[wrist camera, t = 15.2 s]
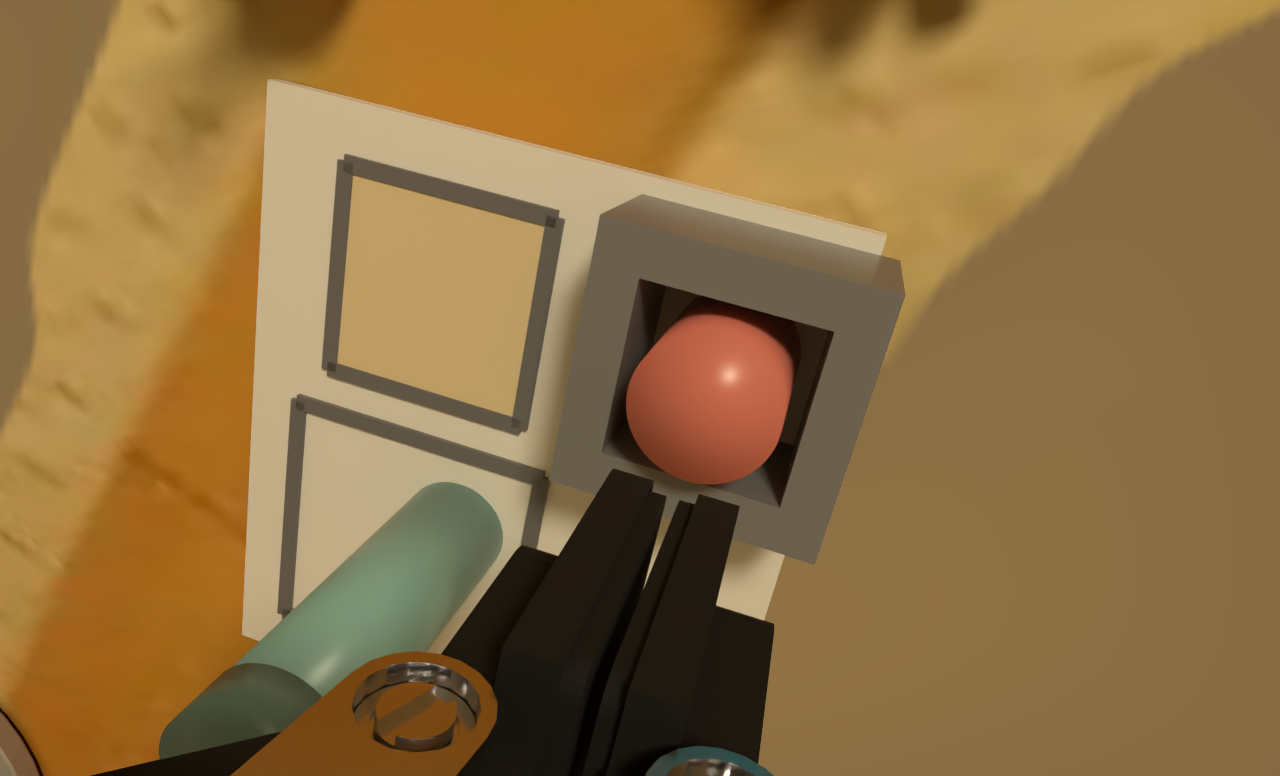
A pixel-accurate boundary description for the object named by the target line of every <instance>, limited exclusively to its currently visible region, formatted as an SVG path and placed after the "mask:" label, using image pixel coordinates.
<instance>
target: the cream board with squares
mask: <svg viewBox="0 0 1280 776" xmlns="http://www.w3.org/2000/svg"><path fill="white" fill-rule="evenodd" d="M641 194H644V195H648V196H652V197H656V198H660V199H663V200H667V201H671V202H675V203H679V204H683V205H687V206H691V207H695V208H698V209H702V210H706V211H710V212H714V213H718V214H722V215H726V216H729V217H733V218H737V219H741V220H745V221H749V222H753V223H757V224H760V225H764V226H768V227H772V228H776V229H780V230H784V231H788V232H791V233H795V234H799V235H803V236H807V237H811V238H815V239H819V240H822V241H826V242H830V243H834V244H838V245H842V246H846V247H850V248H853V249H857V250H861V251H865V252H869V253H873V254H877V255H881V253H882V250H883V247H884V244H885V241H886V238H887V234H886V233H884V232H880V231H876V230H872V229H868V228H864V227H860V226H856V225H853V224H849V223H845V222H841V221H837V220H833V219H829V218H825V217H821V216H817V215H813V214H809V213H805V212H801V211H797V210H793V209H789V208H786V207H782V206H778V205H774V204H770V203H766V202H762V201H758V200H754V199H750V198H746V197H742V196H738V195H734V194H730V193H726V192H722V191H719V190H715V189H711V188H707V187H703V186H699V185H695V184H691V183H687V182H683V181H679V180H675V179H671V178H667V177H663V176H659V175H655V174H652V173H648V172H644V171H640V170H636V169H632V168H628V167H624V166H620V165H616V164H612V163H608V162H604V161H600V160H596V159H592V158H588V157H585V156H581V155H577V154H573V153H569V152H565V151H561V150H557V149H553V148H549V147H545V146H541V145H537V144H533V143H529V142H525V141H521V140H518V139H514V138H510V137H506V136H502V135H498V134H494V133H490V132H486V131H482V130H478V129H474V128H470V127H466V126H462V125H458V124H454V123H451V122H447V121H443V120H439V119H435V118H431V117H427V116H423V115H419V114H415V113H411V112H407V111H403V110H399V109H395V108H391V107H387V106H384V105H380V104H376V103H372V102H368V101H364V100H360V99H356V98H352V97H348V96H344V95H340V94H336V93H332V92H328V91H324V90H320V89H317V88H313V87H309V86H305V85H301V84H297V83H293V82H289V81H285V80H281V79H268V81H267V103H266V124H265V146H264V168H263V190H262V211H261V233H260V255H259V276H258V298H257V320H256V342H255V363H254V385H253V407H252V429H251V450H250V472H249V494H248V515H247V537H246V559H245V581H244V602H243V624H242V635H244V636H247V637H249V638H252V639H255V640H257V641H260V640H261V639H262V638H264V637H265V636H266V635H267V634H268V633H269V632H270V631H271V630H272V629H273V628H274V627H275V626H276V625H277V624H278V623H279V622H280V621H282V620H283V619H284V618H285V617H286V616H287V615H288V614H289V613H290V612H291V611H292V610H293V609H294V608H295V607H296V606H297V605H299V604H300V603H301V602H302V601H303V600H304V599H305V598H306V597H307V596H308V595H309V594H310V593H311V592H312V591H313V590H314V589H315V588H317V587H318V586H319V585H320V584H321V583H322V582H323V581H324V580H325V579H326V578H327V577H328V576H329V575H330V574H331V573H332V572H334V571H335V570H336V569H337V568H338V567H339V566H340V565H341V564H342V563H343V562H344V561H345V560H346V559H347V558H348V557H349V556H350V555H352V554H353V553H354V552H355V551H356V550H357V549H358V548H359V547H360V546H361V545H362V544H363V543H364V542H365V541H366V540H367V539H368V538H370V537H371V536H372V535H373V534H374V533H375V532H376V531H377V530H378V529H379V528H380V527H381V526H382V525H383V524H384V523H385V522H387V521H388V520H389V519H390V518H391V517H392V516H393V515H394V514H395V513H396V512H397V511H398V510H399V509H400V508H401V507H402V506H403V505H405V504H406V503H407V502H408V501H409V500H410V499H411V498H412V497H413V496H414V495H415V494H416V493H417V492H418V491H419V490H421V489H422V488H424V487H425V486H428V485H430V484H433V483H438V482H453V483H457V484H461V485H464V486H466V487H468V488H470V489H472V490H474V491H475V492H477V493H479V494H480V495H481V496H482V497H483V498H484V499H485V500H486V501H487V502H488V503H489V504H490V505H491V506H492V507H493V509H494V511H495V512H496V514H497V516H498V518H499V520H500V523H501V526H502V531H503V544H502V549H501V552H500V554H499V556H498V558H497V559H496V561H495V562H494V563H493V565H492V566H491V567H490V569H489V570H488V571H487V573H486V574H485V575H484V576H483V578H482V579H481V580H480V582H479V583H478V584H477V586H476V587H475V588H474V590H473V591H472V592H471V594H470V595H469V596H468V598H467V599H466V600H465V602H464V603H463V604H462V606H461V607H460V608H459V609H458V611H457V612H456V613H455V615H454V616H453V617H452V619H451V620H450V621H449V623H448V624H447V625H446V627H445V628H444V629H443V631H442V632H441V633H440V635H439V636H438V637H437V639H436V640H435V641H434V642H433V644H432V645H431V646H430V648H429V649H428V650H427V652H428V653H437V654H441V653H442V652H443V651H444V649H445V648H446V646H447V645H448V644H449V642H450V641H451V639H452V638H453V637H454V635H455V634H456V633H457V631H458V630H459V628H460V627H461V626H462V624H463V623H464V621H465V620H466V619H467V617H468V616H469V615H470V613H471V612H472V610H473V609H474V608H475V606H476V605H477V603H478V602H479V601H480V599H481V598H482V596H483V595H484V594H485V592H486V591H487V590H488V588H489V587H490V585H491V584H492V583H493V581H494V580H495V578H496V577H497V576H498V574H499V573H500V572H501V570H502V569H503V567H504V566H505V565H506V563H507V562H508V560H509V559H510V558H511V556H512V555H513V554H514V552H515V551H516V550H517V549H518V548H519V547H520V546H521V545H525V546H528V547H532V548H535V549H538V550H541V551H544V552H547V553H551V554H554V555H557V556H559V554H560V552H561V551H562V549H563V547H564V546H565V544H566V543H567V541H568V539H569V538H570V536H571V535H572V533H573V531H574V530H575V528H576V526H577V525H578V523H579V522H580V520H581V518H582V517H583V515H584V513H585V512H586V510H587V509H588V507H589V505H590V504H591V502H592V501H593V499H594V497H595V496H596V495H593V494H590V493H587V492H584V491H581V490H578V489H574V488H571V487H568V486H565V485H562V484H559V483H555V482H552V481H549V476H550V471H551V466H552V461H553V456H554V450H555V445H556V440H557V435H558V430H559V424H560V419H561V414H562V409H563V404H564V399H565V393H566V388H567V383H568V378H569V373H570V367H571V362H572V357H573V352H574V347H575V342H576V336H577V331H578V326H579V321H580V316H581V310H582V305H583V300H584V295H585V290H586V285H587V279H588V274H589V269H590V264H591V259H592V253H593V248H594V243H595V238H596V233H597V228H598V222H599V217H600V214H602V213H604V212H606V211H608V210H610V209H612V208H615V207H617V206H619V205H621V204H623V203H625V202H627V201H629V200H631V199H633V198H635V197H637V196H639V195H641ZM698 296H700V295H698V294H695V293H691V292H687V291H684V290H680V289H676V288H673V287H669V286H666V289H665V294H664V298H663V302H662V307H661V311H660V316H659V320H658V324H657V329H656V333H655V337H654V342H653V346H652V348H653V347H654V345H655V344H656V343H657V342H658V340H659V339H660V338H661V337H662V336H663V334H664V333H665V332H666V331H667V330H668V328H669V327H670V326H671V325H672V324H673V322H674V321H675V320H676V319H677V318H678V316H679V315H680V314H681V313H682V312H683V310H684V309H685V308H686V307H687V306H688V305H689V304H690V303H691V302H692V301H693V300H694V299H695V298H697V297H698ZM793 322H794V324H795V326H796V328H797V331H798V334H799V339H800V347H801V354H800V362H799V366H798V370H797V374H796V378H795V382H794V386H793V389H792V393H791V397H790V401H789V405H788V409H787V412H786V416H785V420H784V424H783V428H782V432H781V435H780V438H779V440H778V441H780V442H784V443H787V444H790V445H794V442H795V439H796V436H797V432H798V429H799V426H800V423H801V419H802V416H803V413H804V410H805V406H806V403H807V400H808V397H809V393H810V390H811V387H812V384H813V380H814V377H815V374H816V371H817V368H818V364H819V361H820V358H821V355H822V351H823V348H824V345H825V342H826V338H827V335H828V332H829V330H826V329H822V328H819V327H815V326H811V325H808V324H804V323H801V322H797V321H793ZM670 522H671V519H669V518H666V517H663V516H662V519H661V523H660V527H659V530H658V534H657V538H656V542H655V546H654V550H653V554H652V558H651V562H650V565H649V569H648V573H647V577H646V581H645V584H646V582H647V579H648V577H649V574H650V572H651V569H652V567H653V564H654V562H655V559H656V557H657V554H658V552H659V549H660V547H661V544H662V542H663V539H664V537H665V534H666V532H667V529H668V527H669V524H670ZM784 556H785V555H783V554H779V553H776V552H773V551H770V550H767V549H764V548H760V547H757V546H754V545H751V544H748V543H745V542H742V541H738V540H735V539H732V541H731V545H730V549H729V553H728V557H727V562H726V566H725V570H724V574H723V578H722V582H721V586H720V590H719V594H718V599H717V603H716V606H719V607H723V608H726V609H729V610H732V611H735V612H739V613H742V614H745V615H748V616H751V617H754V618H758V619H761V620H764V618H765V615H766V612H767V609H768V606H769V602H770V599H771V596H772V593H773V590H774V587H775V584H776V581H777V578H778V574H779V571H780V568H781V565H782V562H783V559H784ZM644 587H645V585H644Z"/></svg>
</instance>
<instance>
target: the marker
mask: <svg viewBox="0 0 1280 776" xmlns="http://www.w3.org/2000/svg"><path fill="white" fill-rule="evenodd" d="M502 544H503V531H502V526H501V523H500V520H499V518H498V516H497V514H496V512H495V511H494V509H493V507H492V506H491V505H490V504H489V503H488V502H487V501H486V500H485V499H484V498H483V497H482V496H481V495H480V494H479V493H477V492H475V491H474V490H472V489H470V488H468V487H466V486H464V485H461V484H457V483H453V482H438V483H433V484H430V485H428V486H425V487H424V488H422V489H421V490H419V491H418V492H417V493H416V494H415V495H414V496H413V497H412V498H411V499H410V500H409V501H408V502H407V503H406V504H405V505H403V506H402V507H401V508H400V509H399V510H398V511H397V512H396V513H395V514H394V515H393V516H392V517H391V518H390V519H389V520H388V521H387V522H385V523H384V524H383V525H382V526H381V527H380V528H379V529H378V530H377V531H376V532H375V533H374V534H373V535H372V536H371V537H370V538H368V539H367V540H366V541H365V542H364V543H363V544H362V545H361V546H360V547H359V548H358V549H357V550H356V551H355V552H354V553H353V554H352V555H350V556H349V557H348V558H347V559H346V560H345V561H344V562H343V563H342V564H341V565H340V566H339V567H338V568H337V569H336V570H335V571H334V572H332V573H331V574H330V575H329V576H328V577H327V578H326V579H325V580H324V581H323V582H322V583H321V584H320V585H319V586H318V587H317V588H315V589H314V590H313V591H312V592H311V593H310V594H309V595H308V596H307V597H306V598H305V599H304V600H303V601H302V602H301V603H300V604H299V605H297V606H296V607H295V608H294V609H293V610H292V611H291V612H290V613H289V614H288V615H287V616H286V617H285V618H284V619H283V620H282V621H280V622H279V623H278V624H277V625H276V626H275V627H274V628H273V629H272V630H271V631H270V632H269V633H268V634H267V635H266V636H265V637H264V638H262V639H261V640H260V641H259V642H258V643H257V644H256V645H255V646H254V647H253V648H252V649H251V650H250V651H249V652H248V653H247V654H246V655H244V656H243V657H242V658H241V659H240V660H239V661H238V662H237V663H236V664H235V665H234V666H233V667H231V668H229V669H228V670H226V671H225V672H223V673H222V674H221V675H220V676H219V677H218V678H217V679H216V680H215V681H214V682H213V683H211V684H210V685H209V686H208V687H207V688H206V689H205V690H204V691H203V692H202V693H201V694H200V695H199V696H198V697H197V698H196V699H194V700H193V701H192V702H191V703H190V704H189V705H188V706H187V707H186V708H185V709H184V710H183V711H182V712H181V713H180V714H178V715H177V716H176V717H175V718H174V719H173V720H172V721H171V722H170V723H169V724H168V725H167V726H166V728H165V729H164V731H163V733H162V736H161V739H160V744H159V756H160V760H161V759H165V758H169V757H173V756H178V755H182V754H186V753H191V752H195V751H199V750H204V749H208V748H212V747H217V746H221V745H225V744H230V743H234V742H238V741H243V740H247V739H251V738H255V737H260V736H264V735H268V734H273V733H277V732H281V731H283V730H284V729H286V728H287V727H288V726H289V725H290V724H291V723H293V722H294V721H295V720H296V719H297V718H298V717H300V716H301V715H302V714H303V713H304V712H306V711H307V710H308V709H309V708H310V707H311V706H313V705H314V704H315V703H316V702H317V701H318V700H320V699H321V698H322V697H323V696H324V695H325V694H327V693H328V692H329V691H330V690H331V689H333V688H334V687H335V686H336V685H337V684H338V683H340V682H341V681H342V680H343V679H344V678H345V677H347V676H348V675H349V674H350V673H351V672H353V671H354V670H356V669H358V668H359V667H361V666H362V665H364V664H365V663H367V662H369V661H370V660H373V659H377V658H380V657H383V656H386V655H389V654H392V653H402V652H413V651H419V652H427V650H428V649H429V648H430V646H431V645H432V644H433V642H434V641H435V640H436V639H437V637H438V636H439V635H440V633H441V632H442V631H443V629H444V628H445V627H446V625H447V624H448V623H449V621H450V620H451V619H452V617H453V616H454V615H455V613H456V612H457V611H458V609H459V608H460V607H461V606H462V604H463V603H464V602H465V600H466V599H467V598H468V596H469V595H470V594H471V592H472V591H473V590H474V588H475V587H476V586H477V584H478V583H479V582H480V580H481V579H482V578H483V576H484V575H485V574H486V573H487V571H488V570H489V569H490V567H491V566H492V565H493V563H494V562H495V561H496V559H497V558H498V556H499V554H500V552H501V549H502Z"/></svg>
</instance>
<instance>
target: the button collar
mask: <svg viewBox="0 0 1280 776" xmlns="http://www.w3.org/2000/svg"><path fill="white" fill-rule="evenodd" d="M666 286H669V287H673V288H676V289H680V290H684V291H687V292H691V293H695V294H698V295H702V296H706V297H709V298H713V299H717V300H720V301H724V302H728V303H731V304H735V305H738V306H742V307H746V308H749V309H753V310H757V311H760V312H764V313H768V314H771V315H775V316H779V317H782V318H786V319H790V320H793V321H797V322H801V323H804V324H808V325H811V326H815V327H819V328H822V329H826V330H829V332H828V335H827V338H826V342H825V345H824V348H823V351H822V355H821V358H820V361H819V364H818V368H817V371H816V374H815V377H814V380H813V384H812V387H811V390H810V393H809V397H808V400H807V403H806V406H805V410H804V413H803V416H802V419H801V423H800V426H799V429H798V432H797V436H796V439H795V442H794V445H790V444H787V443H784V442H780V441H778V443H777V445H776V447H775V449H774V450H773V452H772V454H771V455H770V456H769V457H768V459H767V460H766V461H765V462H764V463H763V464H762V465H761V466H760V467H759V468H757V469H756V470H755V471H753V472H752V473H750V474H748V475H747V476H745V477H743V478H740V479H738V480H735V481H732V482H728V483H722V484H698V483H692V482H688V481H684V480H682V479H679V478H676V477H674V476H672V475H670V474H668V473H667V472H665V471H664V470H662V469H661V468H659V467H658V466H657V465H655V464H654V463H653V462H652V461H651V460H650V459H649V458H648V457H647V456H646V455H645V454H644V453H643V451H642V450H641V448H640V447H639V446H638V444H637V442H636V440H635V439H634V437H633V434H632V432H631V429H630V427H629V423H628V419H627V412H626V397H627V390H628V386H629V383H630V380H631V378H632V375H633V373H634V371H635V370H636V368H637V366H638V365H639V363H640V362H641V361H642V360H643V359H644V357H645V356H646V355H647V354H648V353H649V351H650V350H651V349H652V346H653V342H654V337H655V333H656V329H657V324H658V320H659V316H660V311H661V307H662V302H663V298H664V294H665V289H666ZM904 298H905V290H904V283H903V277H902V270H901V264H900V260H896V259H892V258H888V257H884V256H881V255H877V254H873V253H869V252H865V251H861V250H857V249H853V248H850V247H846V246H842V245H838V244H834V243H830V242H826V241H822V240H819V239H815V238H811V237H807V236H803V235H799V234H795V233H791V232H788V231H784V230H780V229H776V228H772V227H768V226H764V225H760V224H757V223H753V222H749V221H745V220H741V219H737V218H733V217H729V216H726V215H722V214H718V213H714V212H710V211H706V210H702V209H698V208H695V207H691V206H687V205H683V204H679V203H675V202H671V201H667V200H663V199H660V198H656V197H652V196H648V195H644V194H641V195H639V196H637V197H635V198H633V199H631V200H629V201H627V202H625V203H623V204H621V205H619V206H617V207H615V208H612V209H610V210H608V211H606V212H604V213H602V214H600V217H599V222H598V228H597V233H596V238H595V243H594V248H593V253H592V259H591V264H590V269H589V274H588V279H587V285H586V290H585V295H584V300H583V305H582V310H581V316H580V321H579V326H578V331H577V336H576V342H575V347H574V352H573V357H572V362H571V367H570V373H569V378H568V383H567V388H566V393H565V399H564V404H563V409H562V414H561V419H560V424H559V430H558V435H557V440H556V445H555V450H554V456H553V461H552V466H551V471H550V476H549V481H552V482H555V483H559V484H562V485H565V486H568V487H571V488H574V489H578V490H581V491H584V492H587V493H590V494H593V495H596V494H597V492H598V491H599V489H600V488H601V486H602V484H603V483H604V481H605V480H606V478H607V476H608V475H609V473H610V471H611V470H612V469H613V468H614V469H617V470H621V471H624V472H627V473H631V474H634V475H638V476H641V477H644V478H648V479H651V480H654V485H653V491H652V492H655V493H659V494H662V495H665V496H667V497H666V503H665V507H664V511H663V515H662V516H663V517H666V518H669V519H672V517H673V514H674V512H675V509H676V507H677V504H678V502H679V500H682V501H685V502H689V503H692V504H695V503H696V500H697V497H698V495H699V494H701V495H705V496H708V497H711V498H715V499H718V500H721V501H725V502H728V503H732V504H735V505H738V506H740V508H739V512H738V516H737V521H736V525H735V529H734V533H733V537H732V539H735V540H738V541H742V542H745V543H748V544H751V545H754V546H757V547H760V548H764V549H767V550H770V551H773V552H776V553H779V554H783V555H786V556H789V557H792V558H795V559H799V560H802V561H805V562H808V563H811V564H815V561H816V558H817V555H818V552H819V550H820V546H821V544H822V541H823V538H824V535H825V532H826V529H827V526H828V523H829V520H830V517H831V514H832V511H833V508H834V505H835V502H836V499H837V496H838V493H839V490H840V487H841V484H842V481H843V478H844V475H845V472H846V470H847V466H848V464H849V461H850V458H851V455H852V452H853V449H854V446H855V443H856V440H857V437H858V434H859V431H860V427H861V425H862V422H863V419H864V416H865V413H866V410H867V407H868V404H869V401H870V398H871V395H872V392H873V389H874V386H875V383H876V381H877V378H878V375H879V372H880V369H881V366H882V363H883V360H884V357H885V354H886V351H887V348H888V345H889V342H890V339H891V336H892V333H893V330H894V327H895V324H896V321H897V318H898V315H899V312H900V309H901V306H902V303H903V300H904Z"/></svg>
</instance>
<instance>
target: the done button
mask: <svg viewBox="0 0 1280 776" xmlns="http://www.w3.org/2000/svg"><path fill="white" fill-rule="evenodd" d="M800 354H801V347H800V339H799V334H798V331H797V328H796V326H795V324H794V322H793V320H790V319H786V318H782V317H779V316H775V315H771V314H768V313H764V312H760V311H757V310H753V309H749V308H746V307H742V306H738V305H735V304H731V303H728V302H724V301H720V300H717V299H713V298H709V297H706V296H702V295H700V296H698V297H697V298H695V299H694V300H693V301H692V302H691V303H690V304H689V305H688V306H687V307H686V308H685V309H684V310H683V312H682V313H681V314H680V315H679V316H678V318H677V319H676V320H675V321H674V322H673V324H672V325H671V326H670V327H669V328H668V330H667V331H666V332H665V333H664V334H663V336H662V337H661V338H660V339H659V340H658V342H657V343H656V344H655V345H654V347H653V348H652V349H651V350H650V351H649V353H648V354H647V355H646V356H645V357H644V359H643V360H642V361H641V362H640V363H639V365H638V366H637V368H636V370H635V371H634V373H633V375H632V378H631V380H630V383H629V386H628V390H627V397H626V412H627V419H628V423H629V427H630V429H631V432H632V434H633V437H634V439H635V440H636V442H637V444H638V446H639V447H640V448H641V450H642V451H643V453H644V454H645V455H646V456H647V457H648V458H649V459H650V460H651V461H652V462H653V463H654V464H655V465H657V466H658V467H659V468H661V469H662V470H664V471H665V472H667V473H668V474H670V475H672V476H674V477H676V478H679V479H682V480H684V481H688V482H692V483H698V484H722V483H728V482H732V481H735V480H738V479H740V478H743V477H745V476H747V475H748V474H750V473H752V472H753V471H755V470H756V469H757V468H759V467H760V466H761V465H762V464H763V463H764V462H765V461H766V460H767V459H768V457H769V456H770V455H771V454H772V452H773V450H774V449H775V447H776V445H777V443H778V440H779V438H780V435H781V432H782V428H783V424H784V420H785V416H786V412H787V409H788V405H789V401H790V397H791V393H792V389H793V386H794V382H795V378H796V374H797V370H798V366H799V362H800Z"/></svg>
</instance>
